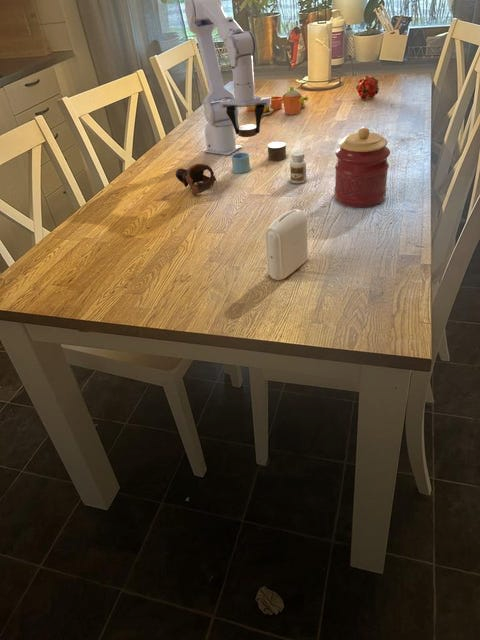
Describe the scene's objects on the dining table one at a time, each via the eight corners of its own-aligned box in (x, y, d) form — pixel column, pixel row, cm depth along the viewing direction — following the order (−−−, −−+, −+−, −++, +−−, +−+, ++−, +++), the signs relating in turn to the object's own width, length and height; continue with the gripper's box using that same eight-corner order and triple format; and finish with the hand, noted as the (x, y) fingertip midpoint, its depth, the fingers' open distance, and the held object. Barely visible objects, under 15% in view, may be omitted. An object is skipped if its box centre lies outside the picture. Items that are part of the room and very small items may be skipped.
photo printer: (282, 283, 100) (279, 227, 92) (265, 276, 102) (261, 222, 95) (310, 260, 106) (310, 206, 98) (294, 255, 108) (292, 202, 101)
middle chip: (264, 153, 155) (264, 146, 153) (273, 147, 158) (273, 141, 157) (280, 155, 152) (280, 148, 151) (289, 149, 155) (288, 142, 154)
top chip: (234, 136, 145) (234, 129, 144) (245, 130, 149) (244, 123, 148) (250, 138, 143) (250, 131, 141) (260, 132, 146) (260, 125, 145)
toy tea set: (308, 103, 201) (308, 78, 195) (307, 115, 189) (306, 87, 183) (245, 107, 206) (243, 82, 200) (239, 118, 194) (237, 91, 188)
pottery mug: (219, 183, 145) (220, 164, 138) (210, 208, 142) (210, 190, 134) (180, 173, 146) (178, 153, 138) (170, 198, 142) (168, 180, 134)
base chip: (265, 159, 156) (264, 153, 155) (274, 153, 159) (273, 147, 158) (280, 161, 153) (280, 155, 152) (289, 155, 157) (289, 149, 155)
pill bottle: (288, 183, 139) (288, 156, 135) (292, 177, 142) (292, 150, 138) (304, 184, 138) (303, 156, 133) (307, 178, 141) (307, 151, 136)
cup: (230, 172, 150) (228, 157, 147) (239, 166, 153) (237, 151, 151) (244, 174, 148) (242, 159, 145) (253, 168, 151) (252, 153, 148)
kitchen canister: (355, 213, 121) (359, 140, 110) (324, 195, 131) (325, 127, 120) (396, 199, 125) (404, 127, 115) (363, 183, 135) (368, 116, 124)
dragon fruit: (370, 97, 206) (366, 110, 199) (354, 85, 205) (349, 97, 197) (384, 80, 200) (380, 92, 192) (367, 67, 198) (362, 79, 191)
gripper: (215, 87, 135) (221, 138, 144) (268, 84, 133) (270, 136, 141) (220, 81, 141) (225, 130, 149) (270, 78, 138) (273, 128, 147)
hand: (247, 132), depth 146 cm, fingers closed on top chip, 5 cm apart
